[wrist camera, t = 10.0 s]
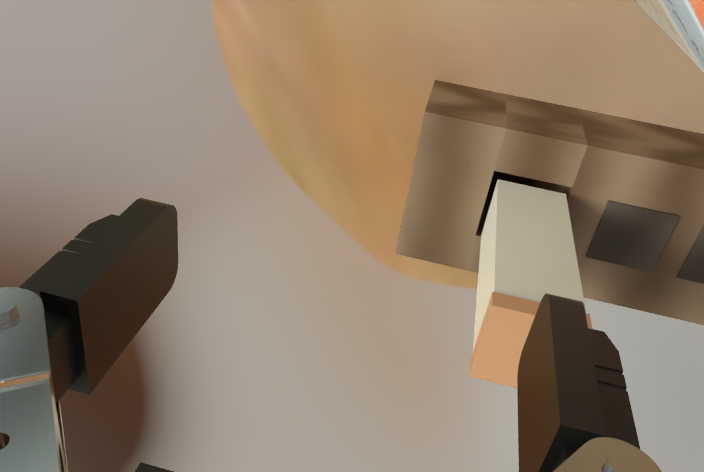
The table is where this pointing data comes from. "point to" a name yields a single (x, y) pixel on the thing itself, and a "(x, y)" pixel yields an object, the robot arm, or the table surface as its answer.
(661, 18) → the cracker box
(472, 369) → the plug
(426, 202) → the socket block
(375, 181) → the table surface
